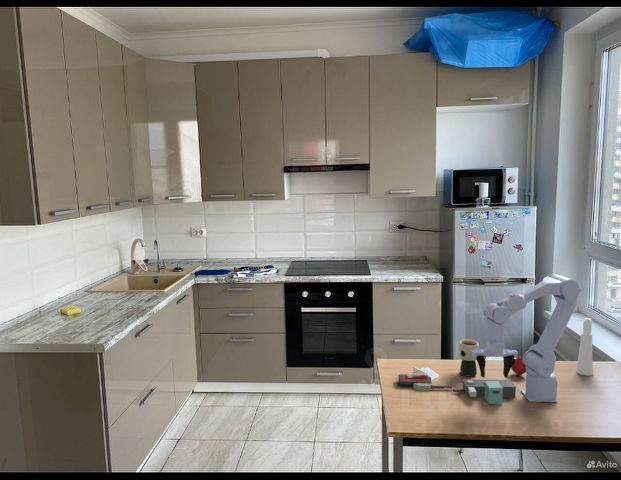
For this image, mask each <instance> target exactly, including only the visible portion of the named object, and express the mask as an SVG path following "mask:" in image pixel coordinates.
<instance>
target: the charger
mask: <svg viewBox="0 0 621 480" xmlns="http://www.w3.org/2000/svg"><path fill="white" fill-rule="evenodd" d="M484 398H485V401H486V402H487V404H488V405H503V398H504V397H503V387H502V386H501V385H500V383H499V382H498V381H485V397H484Z"/></svg>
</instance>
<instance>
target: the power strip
mask: <svg viewBox="0 0 621 480" xmlns="http://www.w3.org/2000/svg"><path fill="white" fill-rule="evenodd" d="M485 381H498V382H499V383H500V385H501V386H502V387H503V398H516V395H517V394H516V390H517V389H516V388H517V387H516V385H515V384H514V382H513V381H512V380H511V379H467V378H466V379H462V385H461V387H462V388H453V389H452V392H453V393H464V395H465V397H466V398H471V397H470V395H469V393H468V387H474V388H475V390H476V397H475V398H485Z"/></svg>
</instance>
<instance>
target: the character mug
mask: <svg viewBox="0 0 621 480" xmlns="http://www.w3.org/2000/svg"><path fill="white" fill-rule="evenodd" d="M479 346H480V344H479V342H478V341H476V340H474V339H462V340H460V341H459V354H458V356H459V358H460V359H461V361H460V363H461V364H460V369H459V372H460V374H461V375H463V376H466V377H470V376H475V375H477V371H478V370H477V364H476V363H477V360H476V357H473V355H472V351H473V350H479V349H480V348H479Z"/></svg>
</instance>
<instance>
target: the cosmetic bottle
mask: <svg viewBox="0 0 621 480" xmlns="http://www.w3.org/2000/svg"><path fill="white" fill-rule="evenodd" d="M592 324H593V321H592V318H591V317H584V319H583V324H582V325H583V326H582V332H581V335H580V340H579V341H580V342H579V352H578V358H577V364H576V367H575V372H576V373H577V374H579V375H582V376H585V377H586V376H587V377H588V376H590V377H591V376H593V375H594V368H593V333H592V330H593V329H592V326H593V325H592Z"/></svg>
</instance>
